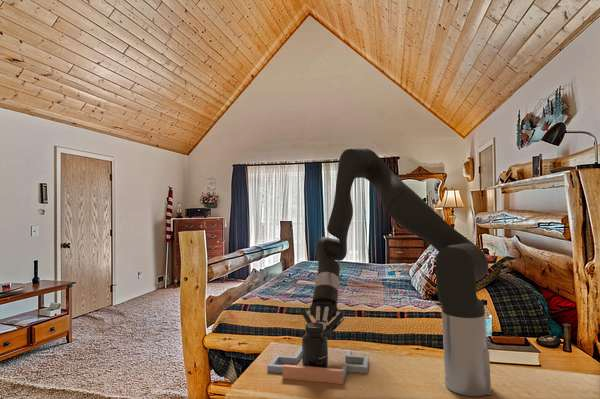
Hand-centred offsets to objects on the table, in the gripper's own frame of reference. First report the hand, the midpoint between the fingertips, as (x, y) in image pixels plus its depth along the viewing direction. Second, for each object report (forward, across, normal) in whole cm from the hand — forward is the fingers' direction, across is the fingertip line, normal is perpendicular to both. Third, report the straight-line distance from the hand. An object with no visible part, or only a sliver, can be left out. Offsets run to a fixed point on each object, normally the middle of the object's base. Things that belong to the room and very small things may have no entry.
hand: (319, 344), depth 98 cm
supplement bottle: (+7, 0, +1) cm, 7 cm away
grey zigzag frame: (+4, 0, +3) cm, 5 cm away
